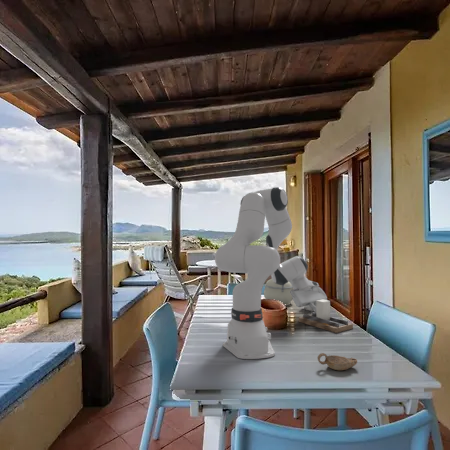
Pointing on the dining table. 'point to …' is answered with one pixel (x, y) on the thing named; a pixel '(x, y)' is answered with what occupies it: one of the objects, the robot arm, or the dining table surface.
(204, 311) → the dining table surface
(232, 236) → the robot arm
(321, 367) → the dining table surface
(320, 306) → the switch knob
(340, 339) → the dining table surface
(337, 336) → the dining table surface
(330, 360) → the oil lamp
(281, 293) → the kettle
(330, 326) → the switch housing
